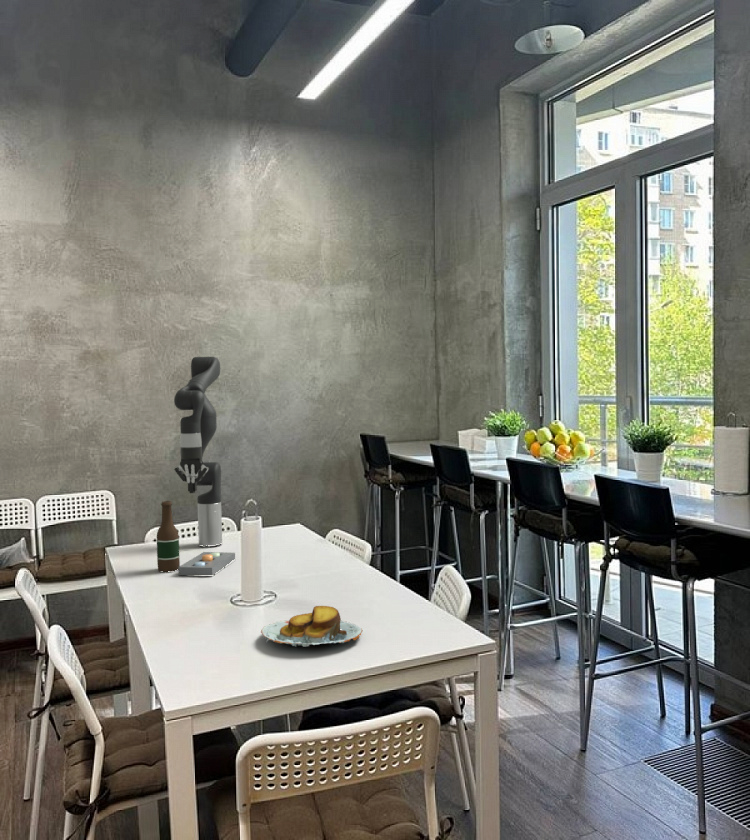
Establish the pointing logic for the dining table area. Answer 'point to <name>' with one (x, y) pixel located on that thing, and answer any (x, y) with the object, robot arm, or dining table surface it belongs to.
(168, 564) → the beer bottle
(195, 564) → the blue button
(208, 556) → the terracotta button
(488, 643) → the dining table surface
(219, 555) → the sage button
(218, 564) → the button panel
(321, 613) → the food on plate
